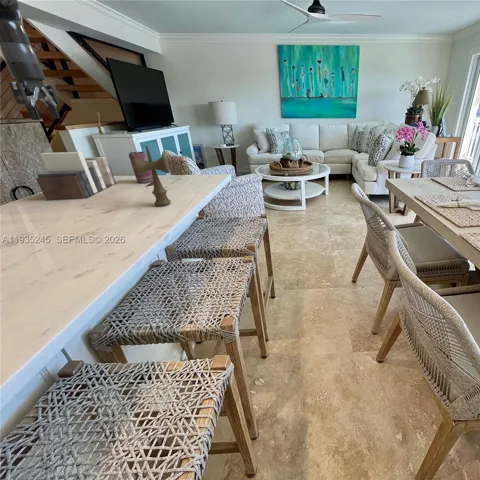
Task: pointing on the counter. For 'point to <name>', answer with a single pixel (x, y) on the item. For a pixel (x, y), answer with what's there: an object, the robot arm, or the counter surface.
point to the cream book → (68, 164)
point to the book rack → (76, 181)
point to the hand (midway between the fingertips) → (46, 119)
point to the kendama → (154, 175)
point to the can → (145, 176)
